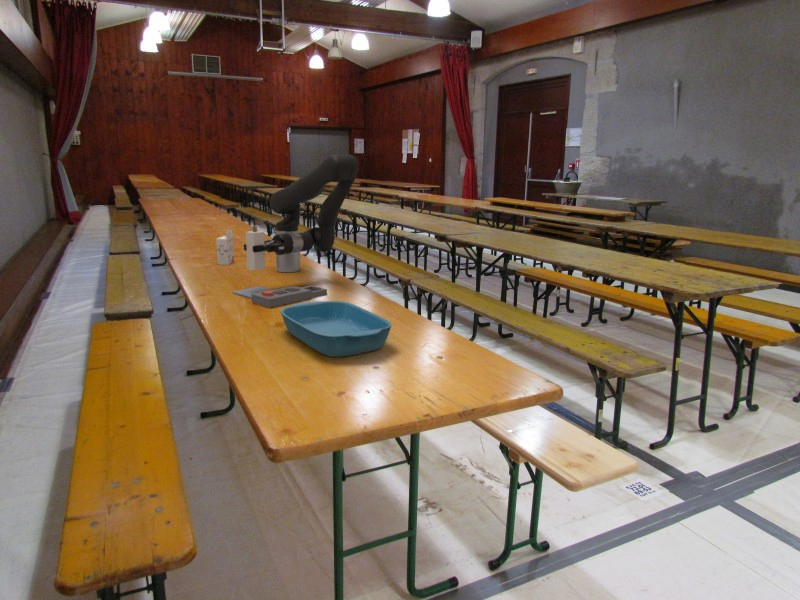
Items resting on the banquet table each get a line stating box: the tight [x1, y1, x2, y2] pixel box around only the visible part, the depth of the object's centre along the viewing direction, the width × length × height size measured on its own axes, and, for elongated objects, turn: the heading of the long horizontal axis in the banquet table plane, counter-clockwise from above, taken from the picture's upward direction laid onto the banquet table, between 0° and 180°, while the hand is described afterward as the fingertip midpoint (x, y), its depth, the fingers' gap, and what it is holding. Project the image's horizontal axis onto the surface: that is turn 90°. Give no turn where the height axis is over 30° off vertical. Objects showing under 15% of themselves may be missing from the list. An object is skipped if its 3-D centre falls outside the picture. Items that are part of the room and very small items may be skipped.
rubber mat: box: [231, 286, 272, 299], centre depth 201 cm, size 12×12×1 cm
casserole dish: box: [280, 300, 392, 358], centre depth 154 cm, size 37×22×7 cm, turn 34°
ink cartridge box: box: [215, 229, 235, 266], centre depth 250 cm, size 9×5×15 cm, turn 179°
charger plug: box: [245, 225, 266, 271], centre depth 197 cm, size 4×4×15 cm
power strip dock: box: [251, 285, 328, 309], centre depth 195 cm, size 26×9×4 cm, turn 141°
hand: (249, 248), depth 195 cm, fingers closed on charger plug, 4 cm apart
